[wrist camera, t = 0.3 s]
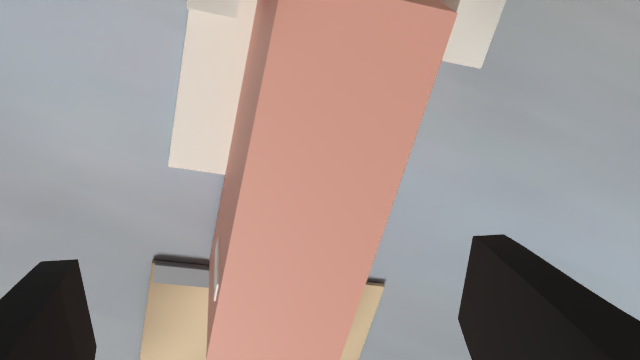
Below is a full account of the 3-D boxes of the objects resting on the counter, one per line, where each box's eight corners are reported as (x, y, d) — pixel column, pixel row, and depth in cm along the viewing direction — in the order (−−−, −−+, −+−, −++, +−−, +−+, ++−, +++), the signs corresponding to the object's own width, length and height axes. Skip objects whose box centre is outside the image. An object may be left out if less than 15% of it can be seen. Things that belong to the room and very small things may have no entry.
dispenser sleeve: (540, -275, 15) (621, -310, 12) (352, 296, 23) (371, 361, 20) (242, -386, 13) (247, -461, 10) (153, 277, 21) (141, 345, 18)
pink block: (400, -25, 17) (460, 13, 13) (316, 269, 22) (338, 368, 18) (266, -57, 16) (281, -28, 12) (208, 257, 21) (204, 359, 17)
